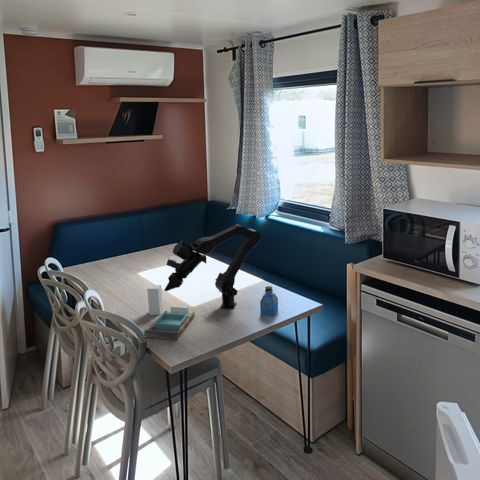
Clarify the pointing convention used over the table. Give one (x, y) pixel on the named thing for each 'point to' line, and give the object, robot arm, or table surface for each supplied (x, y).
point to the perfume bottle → (269, 302)
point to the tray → (172, 319)
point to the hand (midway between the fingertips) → (167, 286)
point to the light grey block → (155, 299)
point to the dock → (168, 334)
